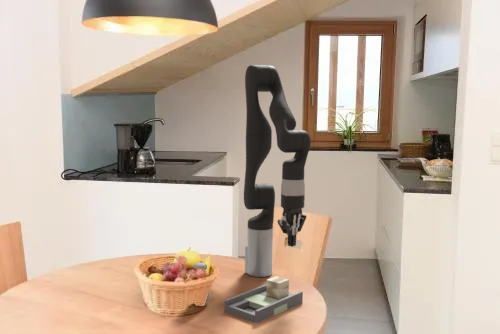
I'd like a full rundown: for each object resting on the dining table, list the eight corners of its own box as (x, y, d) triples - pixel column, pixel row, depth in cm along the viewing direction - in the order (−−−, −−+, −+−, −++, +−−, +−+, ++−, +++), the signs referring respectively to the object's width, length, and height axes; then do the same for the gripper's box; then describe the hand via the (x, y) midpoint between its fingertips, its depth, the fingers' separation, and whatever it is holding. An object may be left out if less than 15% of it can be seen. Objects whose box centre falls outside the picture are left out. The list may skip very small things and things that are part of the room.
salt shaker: (206, 308, 165) (206, 267, 163) (188, 306, 166) (188, 265, 165) (211, 301, 171) (211, 261, 169) (193, 300, 172) (194, 260, 170)
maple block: (266, 295, 171) (266, 279, 171) (276, 291, 175) (276, 276, 175) (278, 299, 168) (279, 283, 168) (288, 294, 172) (288, 279, 171)
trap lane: (224, 311, 163) (224, 300, 163) (270, 292, 180) (270, 282, 179) (257, 323, 155) (257, 311, 154) (302, 302, 171) (302, 291, 171)
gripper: (295, 189, 181) (294, 240, 183) (270, 193, 171) (269, 247, 173) (314, 191, 176) (313, 244, 178) (289, 196, 166) (288, 252, 168)
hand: (291, 245), depth 175 cm, fingers closed
